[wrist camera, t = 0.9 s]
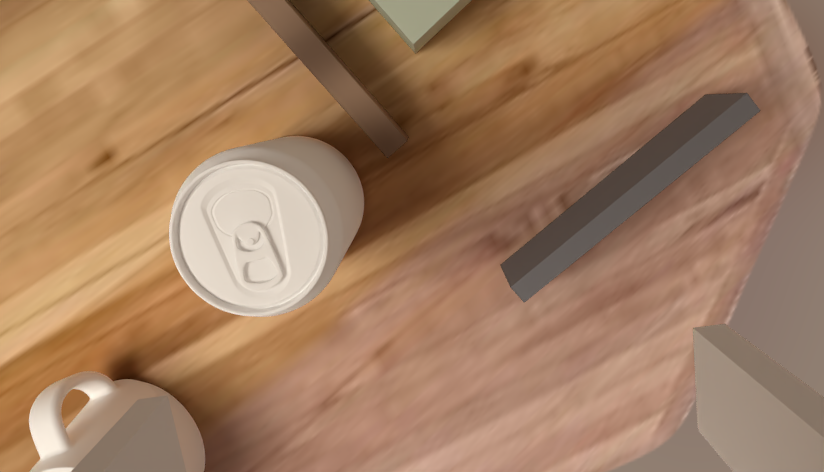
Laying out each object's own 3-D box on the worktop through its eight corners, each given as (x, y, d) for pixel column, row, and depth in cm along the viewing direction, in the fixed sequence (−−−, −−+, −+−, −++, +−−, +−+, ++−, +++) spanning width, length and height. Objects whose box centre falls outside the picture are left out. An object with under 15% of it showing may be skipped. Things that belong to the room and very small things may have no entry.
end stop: (500, 264, 40) (510, 287, 35) (705, 94, 38) (747, 93, 33) (512, 278, 40) (524, 302, 35) (717, 109, 38) (760, 110, 33)
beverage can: (345, 120, 39) (309, 127, 27) (379, 245, 40) (360, 303, 28) (220, 153, 39) (132, 174, 27) (259, 275, 41) (191, 344, 29)
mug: (178, 580, 35) (53, 625, 35) (230, 480, 44) (130, 518, 45) (73, 393, 32) (-58, 446, 33) (151, 330, 42) (47, 372, 42)
